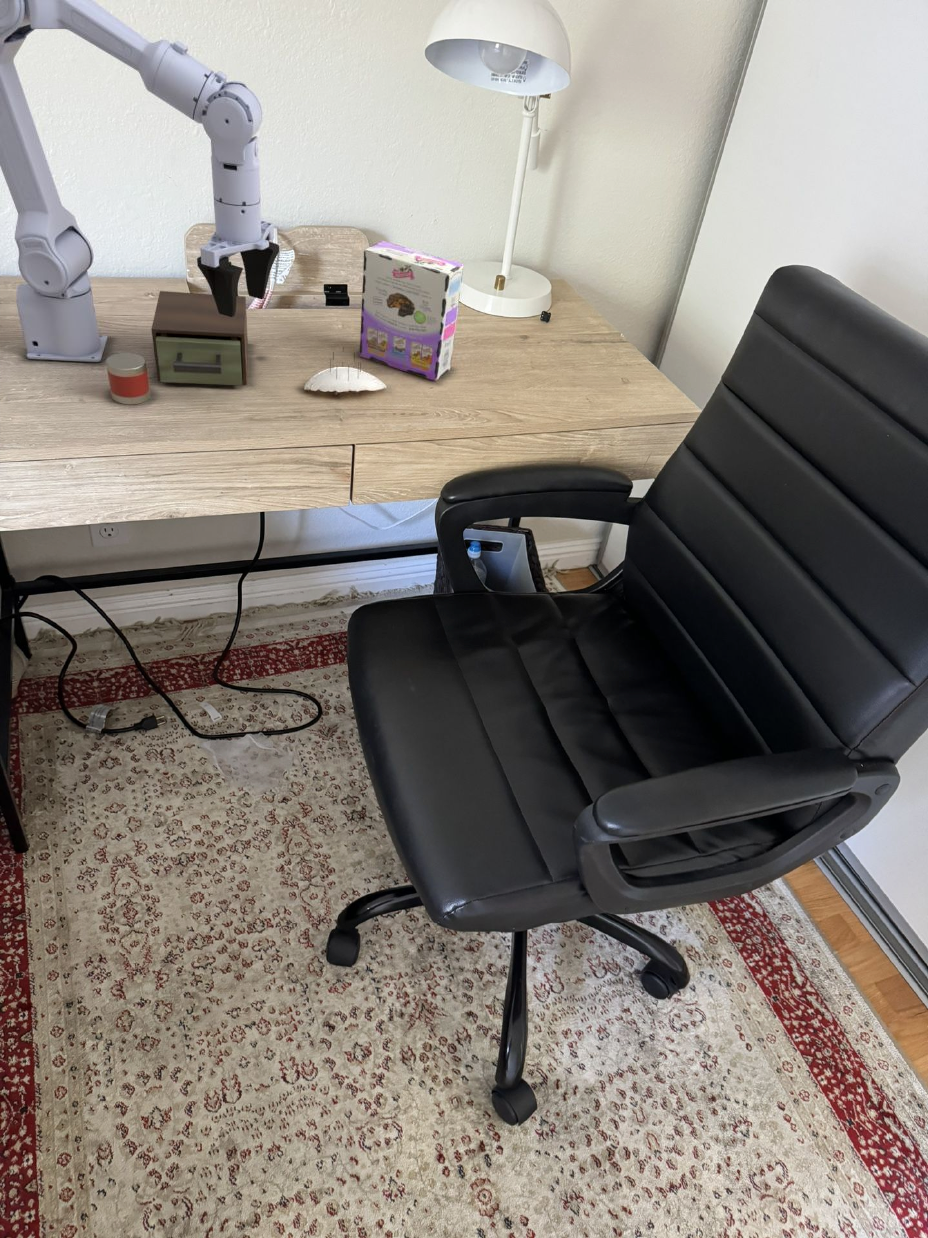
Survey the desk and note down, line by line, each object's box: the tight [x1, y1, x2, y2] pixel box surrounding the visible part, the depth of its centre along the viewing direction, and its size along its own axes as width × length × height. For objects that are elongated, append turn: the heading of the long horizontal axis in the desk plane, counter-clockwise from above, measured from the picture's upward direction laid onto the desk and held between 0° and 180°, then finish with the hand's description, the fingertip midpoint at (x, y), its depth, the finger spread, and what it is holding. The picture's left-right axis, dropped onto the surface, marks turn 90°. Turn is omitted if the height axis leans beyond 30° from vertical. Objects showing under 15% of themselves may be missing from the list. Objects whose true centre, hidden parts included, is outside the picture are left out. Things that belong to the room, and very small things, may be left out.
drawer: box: [156, 333, 242, 386], centre depth 112 cm, size 16×11×6 cm, turn 10°
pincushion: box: [303, 347, 387, 395], centre depth 115 cm, size 12×6×6 cm, turn 106°
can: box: [105, 352, 151, 405], centre depth 106 cm, size 5×5×5 cm
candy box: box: [358, 240, 465, 382], centre depth 121 cm, size 14×6×16 cm, turn 65°
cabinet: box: [151, 290, 249, 386], centre depth 115 cm, size 13×12×8 cm
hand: (241, 305), depth 110 cm, fingers open, 7 cm apart
